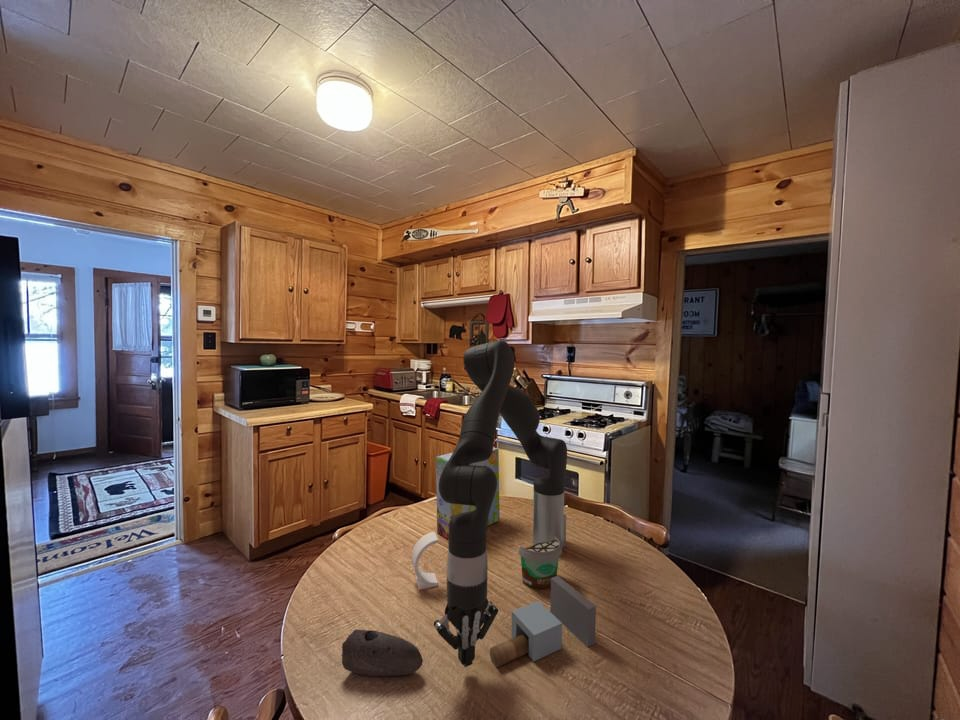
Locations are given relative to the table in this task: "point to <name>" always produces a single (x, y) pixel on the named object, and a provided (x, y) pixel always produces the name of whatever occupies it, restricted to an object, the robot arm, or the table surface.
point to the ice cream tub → (540, 563)
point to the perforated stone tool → (379, 654)
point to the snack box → (449, 510)
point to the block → (538, 629)
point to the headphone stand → (422, 577)
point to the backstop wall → (573, 610)
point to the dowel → (509, 650)
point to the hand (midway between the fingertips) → (466, 662)
